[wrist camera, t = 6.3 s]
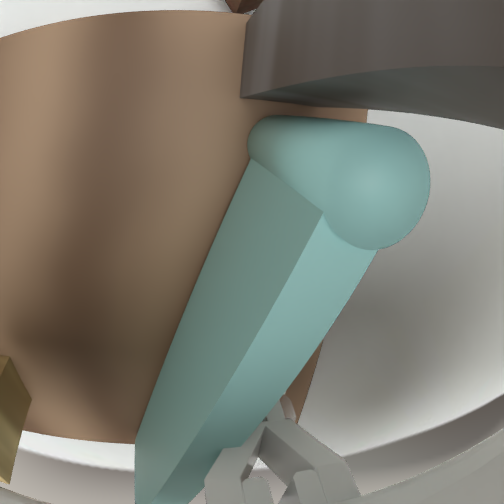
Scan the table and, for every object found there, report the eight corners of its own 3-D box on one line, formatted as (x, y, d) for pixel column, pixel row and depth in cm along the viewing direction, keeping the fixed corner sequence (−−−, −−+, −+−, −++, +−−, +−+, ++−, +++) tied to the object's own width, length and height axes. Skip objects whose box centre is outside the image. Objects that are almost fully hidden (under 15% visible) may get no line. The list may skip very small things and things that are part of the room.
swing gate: (316, 131, 9) (446, 165, 4) (162, 442, 14) (169, 532, 9) (263, 104, 8) (363, 101, 3) (129, 435, 13) (129, 527, 8)
